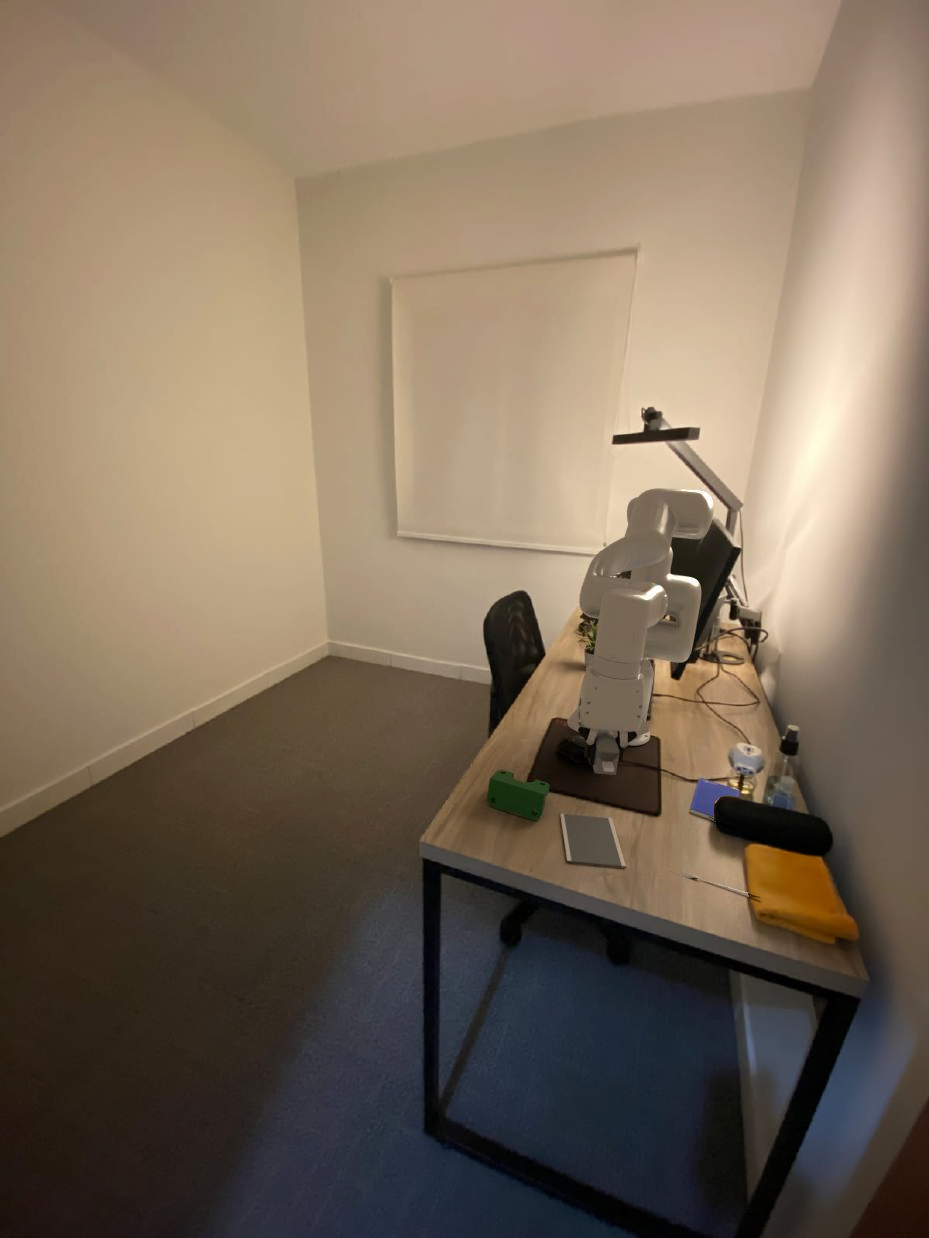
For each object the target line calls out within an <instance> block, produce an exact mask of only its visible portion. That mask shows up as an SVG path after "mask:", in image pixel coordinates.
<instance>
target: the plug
mask: <svg viewBox="0 0 929 1238" xmlns="http://www.w3.org/2000/svg"><path fill="white" fill-rule="evenodd" d="M595 744H596V752H595V759H594V765H592V768H593V772H594V774H600V775H613V776H616V775H617V770H618V768H617V765H618V759H619V748H618V746H617V743H616V741H615V738H614V736H613V733H612V731H611V730H599V729H598V731H597V734H596V738H595Z"/></svg>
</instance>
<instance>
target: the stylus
mask: <svg viewBox="0 0 929 1238" xmlns="http://www.w3.org/2000/svg"><path fill="white" fill-rule="evenodd" d="M666 870H668V871H670V872H672V873H674V874H677V875H679V876H682V877H684V878H688V879H691V880H697V879H698V880H701V881H703V882H706V883H708V884H711V885H714V886H716V887H719V888H722V889H724V890H728V891H731V892H733V893H735V894H738V895H741V896H744V897H747V898H749V895H748V893H749V892H746V891H743V890H741V889H740V890H739V889H736V888H733V887H729V886H725V885H722V884H719V883H715V882H712V881H708V880H704V879H701V876H698V875H694V874H689V873H685V872H681V871H676V870H672V869H668V868H666Z"/></svg>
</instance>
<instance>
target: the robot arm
mask: <svg viewBox="0 0 929 1238" xmlns="http://www.w3.org/2000/svg"><path fill="white" fill-rule="evenodd" d="M713 516H714V501H713V499H712V496H711V495H710V494H708V493H707V492H705V491H701V490H696V489H695V490H694V489H693V490H692V489H682V488H681V489H677V488H663V487H662V488H660V487H659V488H650V489H647V490H644V491H643V492H641V493H640V494H639V495H638V496H637V497H636V496H635V497H634V498H632V499H630V501H629V502H628V505H627V508H626V520H627V528H626V530H625V534H624V536H622V537H621V538H619V539H617V540H615V541H613V542H612V543H610V544H609V545H607V546H605V547H604V548H603V549H602V550H600V551H598V552H597V554H595V556H594V557H593V558H592V560H591V562H590V563H589V566H588V568H587V570H586V574H585V577H584V578H583V582H582V585H581V588H580V592H579V600H578V602H579V608H580V610H581V613H583V615H585V616H587V617H589V618H593V619H598V622H597V623H598V628H597V635H596V643H595V651H594V658H593V666H588V667H587V669H586V668H585V672H584V675H583V679H582V682H581V687H580V691H579V695H578V701H577V706H576V709H575V710H574V712H573V713H572V714H571V715H570V716H569V717H568V718H567V721H566V722H567V723H566V724H567V726H568V727H569V728H570V729H572V730H574V731H575V732H577V733H578V734H579V735H580V736H581V737H582V738H583V739H584V740H585V744H584V752H583V753H584V755H583V756H584V758H585V759H587V760H588V765H589V766H593V765H594V759H595V752H596V744H595V738H596V734H597V731H598V729H599V730H611V731H612V733H613V736H614V738H615V741H616V743H617V746H618V748H619V759H618V765H617V769H618V768H619V767H620V766H619V764H620V761H623V757H624V752H625V748H627V747H628V746H633V747H634V746H641V745H644V744H646V743H648V742H649V741H650V739H651V733H650V729H649V726H648V724H647V715H648V712H649V707H650V705H649V704H650V700H651V695H652V694H651V693H652V689H653V684H654V683H653V682H654V676H655V675H654V674H655V673H654V669H653V667H652V666H653V665H652V663H651V660H649V659H655V660H661V661H666V662H671V663H684V662H686V661H688V659H689V658H690V655H691V654H692V650H693V645H694V640H695V636H696V635H695V634H696V630H697V624H698V619H699V612H700V607H701V600H702V586H701V584H700V582H699V581H698V580H697V579H696V578H694V577H691V576H685V575H679V574H672V573H671V567H672V563H673V558H674V552H673V549H672V540H673V538H681V539H689V540H700V539H701V540H702V538H704V537H705V536H706V535H707V533H708V531H709V530H710V528H711V525H712V521H713ZM629 571H631V572H630V578H621V577H613V576H615V575H617V574H620V573H625V572H629ZM665 616H671V617H673V618H674V619H675V621H672V620H666V619H663V618H664V617H665Z"/></svg>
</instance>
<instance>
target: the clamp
mask: <svg viewBox="0 0 929 1238" xmlns="http://www.w3.org/2000/svg"><path fill="white" fill-rule="evenodd" d="M514 777H515V773H514V772H513V771H509V770H508V771H507V770H505V769H504V770H503V769H498V770H497V771H495V772H494V773H493V774H492V776H490V778H489V782H488V790H487V796H486V801H487V802H486V803H487V805H489V807H492V808H494V809H498V810H501V811H504V812H507V813H510V814H514V815H516V816H518V817H519V816H520V817H523V818H526V819H529V820H532V821H537V820H540V819H541V817H542V816H543V814H544V810H545V804H546V800H547V799H546V798H547V796H548V795H549V792H550V786H551V784H549V783H548V782H546V781H542V780H540V779H534V781H532V782H528V781H527V782H525V781H520V780H518V779H515V778H514Z"/></svg>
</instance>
